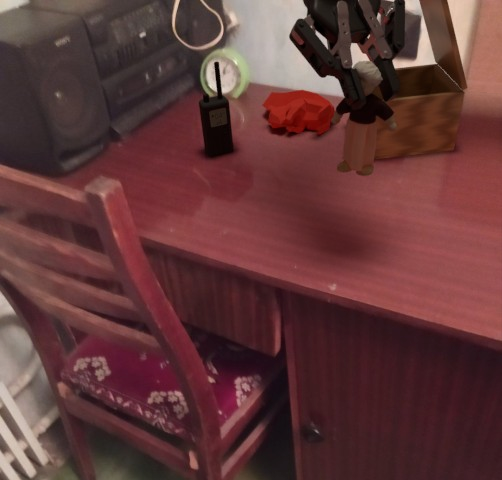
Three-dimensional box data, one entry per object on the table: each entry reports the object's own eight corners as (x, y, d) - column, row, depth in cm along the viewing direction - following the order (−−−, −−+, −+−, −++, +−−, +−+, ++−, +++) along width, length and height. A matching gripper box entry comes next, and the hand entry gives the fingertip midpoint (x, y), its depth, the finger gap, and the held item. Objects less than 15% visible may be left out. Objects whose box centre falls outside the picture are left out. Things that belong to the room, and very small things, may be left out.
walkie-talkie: (210, 159, 100) (198, 69, 90) (203, 151, 103) (192, 63, 92) (236, 153, 101) (227, 63, 91) (229, 145, 104) (220, 57, 93)
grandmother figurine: (325, 174, 71) (327, 66, 62) (331, 159, 73) (334, 53, 64) (390, 180, 69) (401, 69, 60) (394, 164, 71) (406, 55, 62)
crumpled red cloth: (278, 104, 115) (278, 77, 112) (343, 121, 108) (344, 93, 104) (241, 126, 109) (238, 99, 105) (306, 146, 102) (306, 118, 98)
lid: (438, -10, 80) (474, -30, 78) (410, -32, 89) (442, -50, 87) (462, 90, 90) (494, 74, 88) (435, 62, 99) (464, 46, 97)
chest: (366, 162, 96) (371, 103, 89) (349, 129, 105) (352, 73, 98) (453, 151, 97) (464, 92, 90) (428, 119, 106) (437, 63, 99)
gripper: (366, -37, 68) (414, 103, 69) (255, -15, 65) (306, 132, 65) (396, -86, 61) (449, 70, 61) (273, -64, 58) (331, 101, 58)
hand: (375, 101), depth 63 cm, fingers closed on grandmother figurine, 3 cm apart
